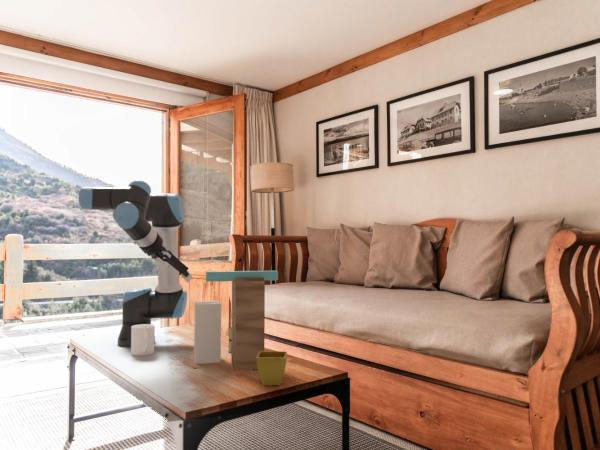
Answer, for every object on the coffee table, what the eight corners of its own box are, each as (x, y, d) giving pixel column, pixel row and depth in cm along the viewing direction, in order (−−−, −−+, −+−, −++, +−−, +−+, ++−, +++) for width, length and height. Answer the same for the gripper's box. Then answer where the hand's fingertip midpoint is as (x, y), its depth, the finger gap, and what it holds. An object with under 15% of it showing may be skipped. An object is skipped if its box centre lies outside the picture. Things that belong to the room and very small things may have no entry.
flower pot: (259, 379, 148) (259, 350, 148) (286, 379, 148) (287, 351, 148) (255, 388, 139) (256, 357, 140) (285, 388, 139) (285, 357, 139)
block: (205, 280, 162) (206, 271, 163) (276, 279, 169) (276, 270, 169) (206, 281, 159) (206, 272, 160) (278, 280, 166) (278, 271, 166)
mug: (134, 359, 174) (135, 330, 174) (129, 352, 184) (129, 325, 184) (158, 356, 178) (158, 328, 178) (151, 350, 188) (151, 323, 189)
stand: (231, 363, 167) (232, 276, 168) (258, 361, 170) (259, 275, 171) (235, 371, 157) (235, 278, 159) (264, 369, 160) (264, 277, 161)
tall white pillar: (194, 358, 174) (194, 301, 175) (218, 357, 177) (218, 300, 178) (195, 364, 167) (195, 304, 167) (220, 362, 169) (221, 303, 170)
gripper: (118, 236, 162) (149, 269, 177) (163, 260, 148) (193, 293, 164) (133, 220, 165) (163, 254, 180) (179, 242, 151) (207, 276, 167)
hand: (177, 273), depth 172 cm, fingers open, 13 cm apart
